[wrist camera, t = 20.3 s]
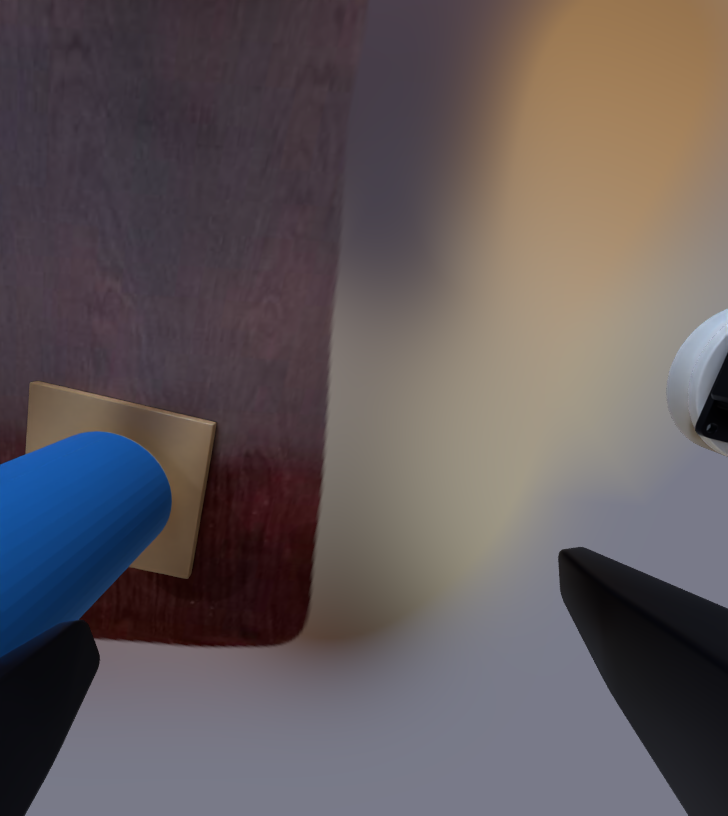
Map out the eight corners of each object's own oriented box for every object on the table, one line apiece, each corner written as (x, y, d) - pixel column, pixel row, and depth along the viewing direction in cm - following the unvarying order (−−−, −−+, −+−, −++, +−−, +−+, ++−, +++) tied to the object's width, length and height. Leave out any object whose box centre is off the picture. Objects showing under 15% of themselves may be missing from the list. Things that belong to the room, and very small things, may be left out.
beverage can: (27, 487, 20) (-436, 717, 9) (103, 400, 19) (-302, 526, 8) (127, 566, 21) (-163, 869, 10) (205, 487, 20) (-12, 718, 9)
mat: (217, 422, 20) (213, 424, 20) (191, 573, 22) (187, 579, 21) (37, 380, 20) (28, 381, 19) (27, 539, 21) (19, 544, 21)
